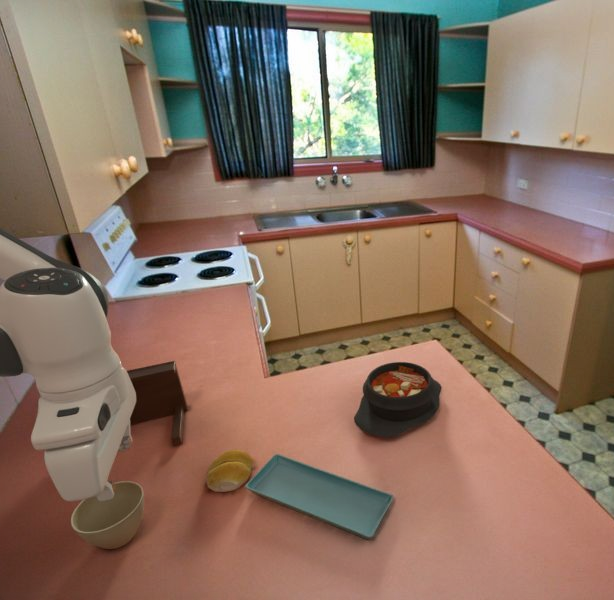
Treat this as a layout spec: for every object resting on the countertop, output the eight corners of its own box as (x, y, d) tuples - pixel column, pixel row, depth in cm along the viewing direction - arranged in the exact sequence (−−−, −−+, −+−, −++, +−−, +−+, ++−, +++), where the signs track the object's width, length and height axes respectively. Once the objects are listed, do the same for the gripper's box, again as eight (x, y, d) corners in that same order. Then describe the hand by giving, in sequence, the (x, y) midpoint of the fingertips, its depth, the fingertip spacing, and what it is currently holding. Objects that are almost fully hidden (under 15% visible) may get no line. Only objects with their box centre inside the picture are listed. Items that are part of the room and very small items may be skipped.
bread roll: (256, 455, 88) (253, 440, 86) (247, 490, 80) (243, 474, 78) (215, 460, 87) (211, 444, 85) (201, 495, 79) (197, 479, 77)
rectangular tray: (395, 503, 76) (394, 492, 75) (372, 547, 68) (371, 536, 68) (277, 461, 86) (275, 452, 85) (245, 496, 78) (243, 486, 77)
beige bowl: (78, 574, 66) (62, 542, 63) (92, 522, 74) (78, 492, 71) (151, 549, 69) (139, 518, 66) (156, 502, 78) (145, 473, 75)
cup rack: (186, 442, 92) (171, 392, 87) (83, 470, 85) (60, 417, 80) (188, 407, 103) (174, 360, 98) (97, 429, 97) (78, 380, 92)
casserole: (396, 372, 115) (395, 345, 111) (458, 393, 105) (459, 364, 102) (335, 425, 96) (332, 394, 92) (405, 457, 86) (404, 424, 83)
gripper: (85, 354, 63) (112, 426, 69) (22, 451, 45) (65, 538, 51) (133, 347, 65) (155, 418, 71) (90, 438, 47) (124, 523, 53)
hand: (117, 469), depth 61 cm, fingers open, 8 cm apart
